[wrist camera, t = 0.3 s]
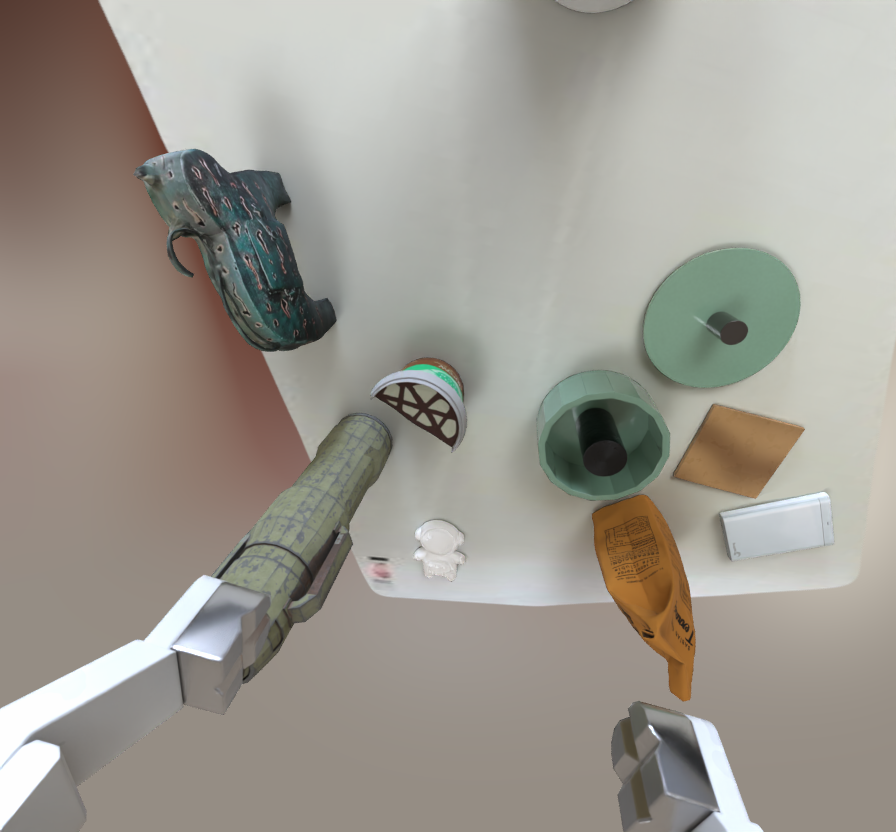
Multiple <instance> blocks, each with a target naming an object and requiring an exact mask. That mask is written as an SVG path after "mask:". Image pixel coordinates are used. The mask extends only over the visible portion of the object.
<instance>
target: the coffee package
mask: <svg viewBox="0 0 896 832" xmlns="http://www.w3.org/2000/svg"><path fill="white" fill-rule="evenodd" d="M592 520H593V523H594V546H595V551H596V555H597V558H598V561H599V564H600V568H601V571H602V575H603V578H604V581H605V584H606V587H607V590H608V592H609V593H610V595H611V596H612V598H613V599H614V601H615V602H616V604H617V605H618V607H619V609H620V610H621V611H622V613H623V614H624V615H625V616H626V617H627V619H628V621H629V622H630V624H631V625H632V626H633V628H634V629H635V630H636V631H637V632H638V634H639V635H640V636H641V637H642V639H643V640H644V641H645V642H646V643H647V644H648V645H649V646H650V647H651V648H652V649H653V650H655V651H656V652H657V653H658V654H660V655H661V656H663V657H664V658H665V659H666V660H667V662H668V673H669V688H670V691H671V693H673V694H674V695H675V696H677V697H678V698H679V699H681V700H682V701H687V700H690V698H691V682H692V675H693V663H694V655H695V629H694V625H693V616H692V606H691V597H690V589H689V584H688V580H687V577H686V574H685V571H684V567H683V564H682V561H681V557H680V554H679V551H678V548H677V546H676V543H675V540H674V538H673V536H672V533H671V531H670V529H669V527H668V524H667V522H666V521H665V519H664V518H663V516H662V514H661V513H660V511H659V510H658V509H657V507H656V506H655V505H654V503H653V502H652V501H651V500H650V499H649V497H648V496H646V495H638V496H636V497H633V498H630V499H626V500H623V501H620V502H618V503H615V504H613V505H609V506H606V507H603V508H601V509H600V510H598V511H596V512H595V513H593V514H592Z"/></svg>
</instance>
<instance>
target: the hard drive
mask: <svg viewBox="0 0 896 832" xmlns="http://www.w3.org/2000/svg"><path fill="white" fill-rule="evenodd" d="M719 516H720V521H721V526H722V530H723V535H724V540H725V545H726V550H727V554H728V557H729V558H730V560H731V561H738V560H744V559H750V558H756V557H762V556H769V555H774V554H781V553H787V552H793V551H799V550H805V549H811V548H817V547H823V546H829V545H834V533H833V521H832V511H831V501H830V497H829V496H828V495H827V494H826V493H825V492H822V493H817V494H812V495H807V496H802V497H797V498H792V499H786V500H781V501H776V502H772V503H766V504H761V505H756V506H751V507H746V508H741V509H736V510H731V511H726V512H721V513H719Z"/></svg>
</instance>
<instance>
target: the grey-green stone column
mask: <svg viewBox="0 0 896 832" xmlns="http://www.w3.org/2000/svg"><path fill="white" fill-rule="evenodd" d="M391 449H392V437H391V435H390V432H389V430H388V429H387V427H386V426H385V425H384V423H382V422H381V421H380V420H379V419H377V418H376V417H373V416H371V415H368V414H363V413H355V414H350V415H348V416H346V417H344V418H343V419H342V420H341V421H340V423H339V424H338V425H336V426H335V427H334V428H333V429H332V430H331V432H330V433H329V434H328V435H327V437H326V438H325V439H324V440H323V441H322V443H321V444H320V445H319V446H318V450H317V453H316V457H315V458H314V459H313V461H312V462H311V463H310V464H309V466H308V467H307V468H306V469H305V471H304V472H303V473H302V474H301V476H300V477H299V478H298V479H297V481H296V482H295V483H294V484H293V486H292V487H291V488H289V489H287V490H285V491H283V492H281V494H280V495H279V496H278V497H277V499H276V500H275V501H274V502H273V503H272V505H271V506H270V507H269V508H268V510H267V511H266V512H265V513H264V515H263V516H262V517H261V518H260V519H259V521H258V522H257V523H256V524H255V525H254V527H253V528H252V529H251V530H250V531H249V532H248V533H247V534H246V535H245V536H244V537H243V539H242V540H241V541H240V542H239V543H238V544H237V545H236V546H235V548H234V549H233V550H232V551H231V552H230V554H229V555H228V556H227V557H226V559H225V560H224V561H223V562H222V563H221V565H220V566H219V567H218V568H217V570H216V571H215V572H214V573H213V574H212V576H211V577H213V578H217V579H220V580H224V581H227V582H229V583H232V584H236V585H239V586H242V587H246V588H249V589H252V590H256V591H259V592H262V593H266V594H269V595H271V606H270V607H269V609H268V611H267V612H266V613H267V614H268V615H269V617H270V618H271V619H270V628H269V633H268V636H267V639H266V641H265V643H264V646H263V648H262V650H261V652H260V654H259V656H258V657H257V659H256V661H255V663H253V664H251V665H250V666H248V667H247V668H245V669H243V683H242V684H244V683H248V682H249V681H250V680H251V679H252V678H253V677H254V676H255V675H256V674H257V673H258V672H259V671H260V670H261V669H262V668H263V667H264V666H265V665H266V664H267V663H268V662H269V661H270V660H271V659H272V658H273V657H274V656H275V655H276V654H277V653H278V652H279V650H280V648H281V646H282V644H283V643H284V641H285V639H286V637H287V635H288V633H289V631H290V630H291V628H292V626H293V625H294V623H300V622H306V621H307V620H308V619H309V618H311V617H312V616H313V615H314V614H315V613H317V612H318V611H319V610H320V609H321V608H322V606H323V603H324V601H325V599H326V598H327V595H328V593H329V591H330V589H331V587H332V585H333V583H334V581H335V579H336V577H337V575H338V573H339V571H340V569H341V567H342V565H343V563H344V561H345V559H346V557H347V555H348V553H349V551H350V549H351V547H352V545H353V542H352V539H351V536H350V534H349V523H350V521H351V519H352V517H353V515H354V514H355V512H356V510H357V508H358V506H359V504H360V502H361V501H362V499H363V497H364V495H365V493H366V491H367V489H368V488H369V487H371V486H372V485H373V484H374V483H375V482H376V481H377V479H378V477H379V475H380V474H381V472H382V470H383V468H384V466H385V464H386V461H387V459H388V456H389V454H390V451H391Z"/></svg>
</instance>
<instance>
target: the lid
mask: <svg viewBox="0 0 896 832" xmlns="http://www.w3.org/2000/svg"><path fill="white" fill-rule="evenodd" d="M799 313H800V293H799V289H798V285H797V283H796V280H795V278H794V276H793V275H792V273H791V272H790V270H789V269H788V268H787V267H786V266H785V265H784V264H783V263H782V262H781V261H779V260H778V259H777V258H775V257H773V256H771V255H769V254H767V253H765V252H762V251H758V250H755V249H749V248H725V249H720V250H715V251H711V252H708V253H705V254H702V255H700V256H698V257H696V258H694V259H692V260H690V261H689V262H687V263H685V264H684V265H682V266H681V267H679V268H678V269H677V270H675V271H674V272H673V273H672V274H671V275H670V276H669V277H668V278H667V279H666V280H665V281H664V282H663V283H662V284H661V286H660V287H659V288H658V290H657V291H656V293H655V294H654V296H653V297H652V299H651V301H650V303H649V305H648V308H647V311H646V314H645V318H644V323H643V340H644V345H645V349H646V351H647V354H648V356H649V358H650V360H651V361H652V363H653V364H654V365H655V367H656V368H657V369H658V370H659V371H660V372H661V373H662V374H664V375H665V376H666V377H668V378H669V379H671V380H673V381H675V382H677V383H680V384H683V385H687V386H692V387H701V388H709V387H719V386H725V385H729V384H732V383H735V382H738V381H741V380H743V379H745V378H747V377H749V376H751V375H753V374H755V373H756V372H758V371H760V370H761V369H762V368H764V367H765V366H766V365H768V364H769V363H770V362H771V361H772V360H773V359H774V358H775V357H777V355H778V354H779V353H780V352H781V351H782V350H783V348H784V347H785V346H786V344H787V343H788V341H789V340H790V338H791V336H792V334H793V332H794V330H795V327H796V325H797V322H798V318H799Z"/></svg>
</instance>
